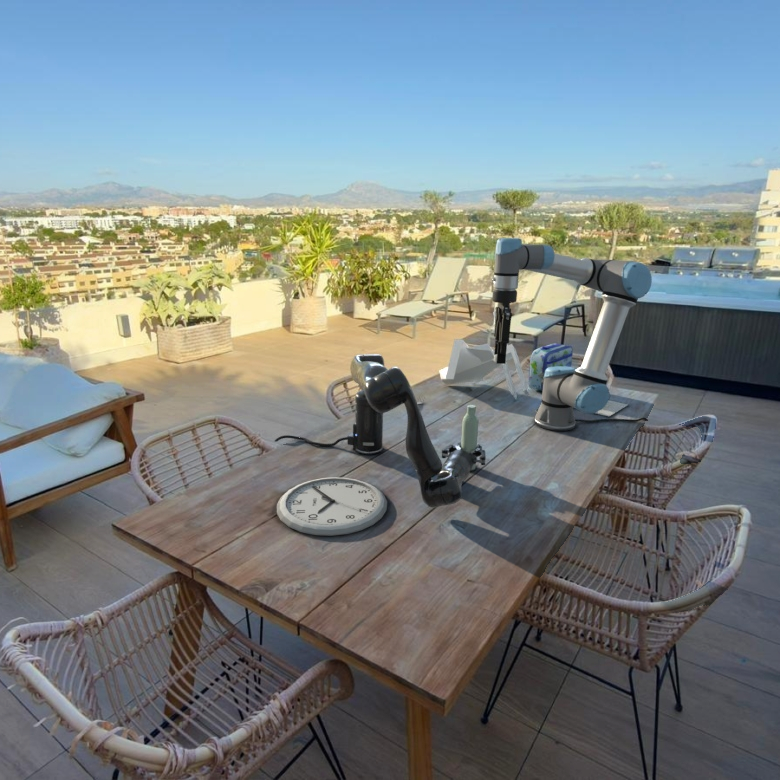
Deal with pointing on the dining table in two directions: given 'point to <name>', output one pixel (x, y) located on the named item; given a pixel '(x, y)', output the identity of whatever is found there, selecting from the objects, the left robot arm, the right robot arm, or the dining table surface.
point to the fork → (420, 400)
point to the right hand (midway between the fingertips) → (499, 361)
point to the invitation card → (611, 408)
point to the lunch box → (547, 362)
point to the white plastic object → (479, 365)
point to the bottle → (470, 430)
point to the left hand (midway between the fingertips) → (470, 445)
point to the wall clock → (331, 506)
